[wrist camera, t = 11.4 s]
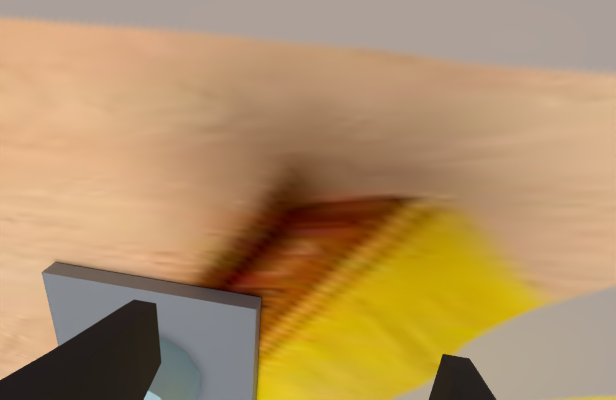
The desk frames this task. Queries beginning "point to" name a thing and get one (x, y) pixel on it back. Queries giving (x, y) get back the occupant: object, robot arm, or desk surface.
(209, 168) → the desk surface
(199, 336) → the post base
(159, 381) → the flange ring
